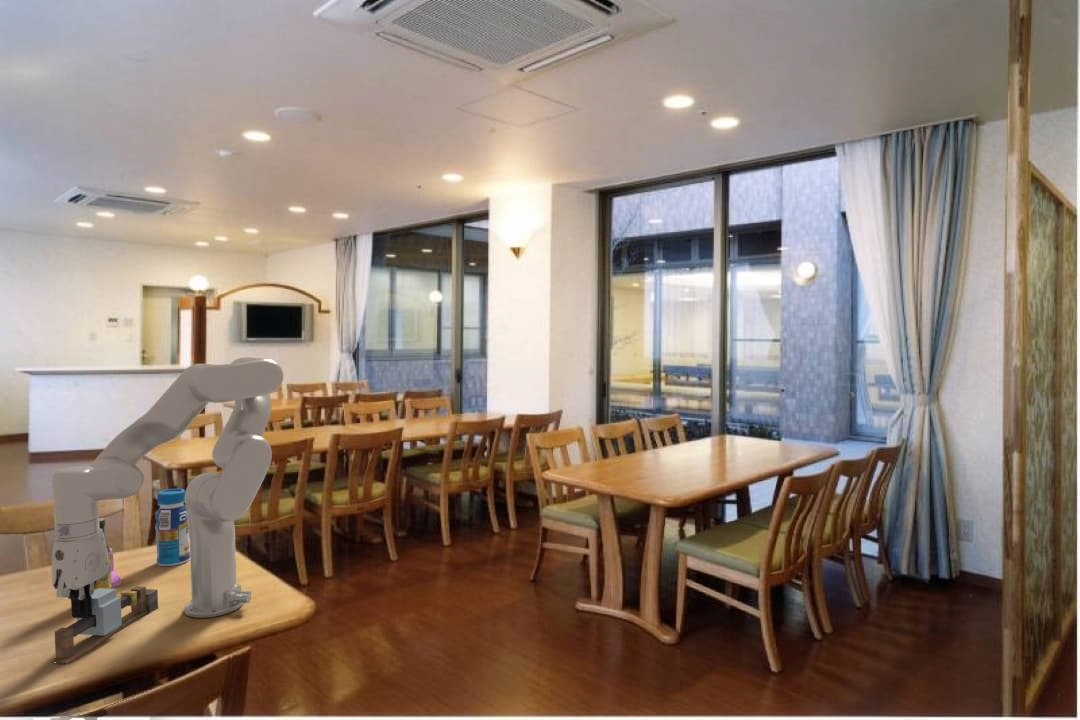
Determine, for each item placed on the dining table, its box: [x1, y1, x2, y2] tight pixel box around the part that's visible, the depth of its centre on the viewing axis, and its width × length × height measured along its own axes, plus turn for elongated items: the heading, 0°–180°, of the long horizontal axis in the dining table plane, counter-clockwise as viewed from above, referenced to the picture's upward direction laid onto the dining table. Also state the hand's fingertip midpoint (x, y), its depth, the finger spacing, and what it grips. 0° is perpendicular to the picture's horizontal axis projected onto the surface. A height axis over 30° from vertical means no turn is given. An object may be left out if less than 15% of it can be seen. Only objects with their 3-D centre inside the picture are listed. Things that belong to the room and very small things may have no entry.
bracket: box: [109, 547, 122, 589], centre depth 174 cm, size 13×6×7 cm, turn 44°
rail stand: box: [52, 585, 159, 665], centre depth 145 cm, size 4×26×6 cm, turn 174°
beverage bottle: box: [154, 488, 190, 567], centre depth 187 cm, size 8×8×20 cm
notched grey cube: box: [76, 588, 122, 636], centre depth 142 cm, size 6×5×8 cm
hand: (82, 616), depth 137 cm, fingers closed
